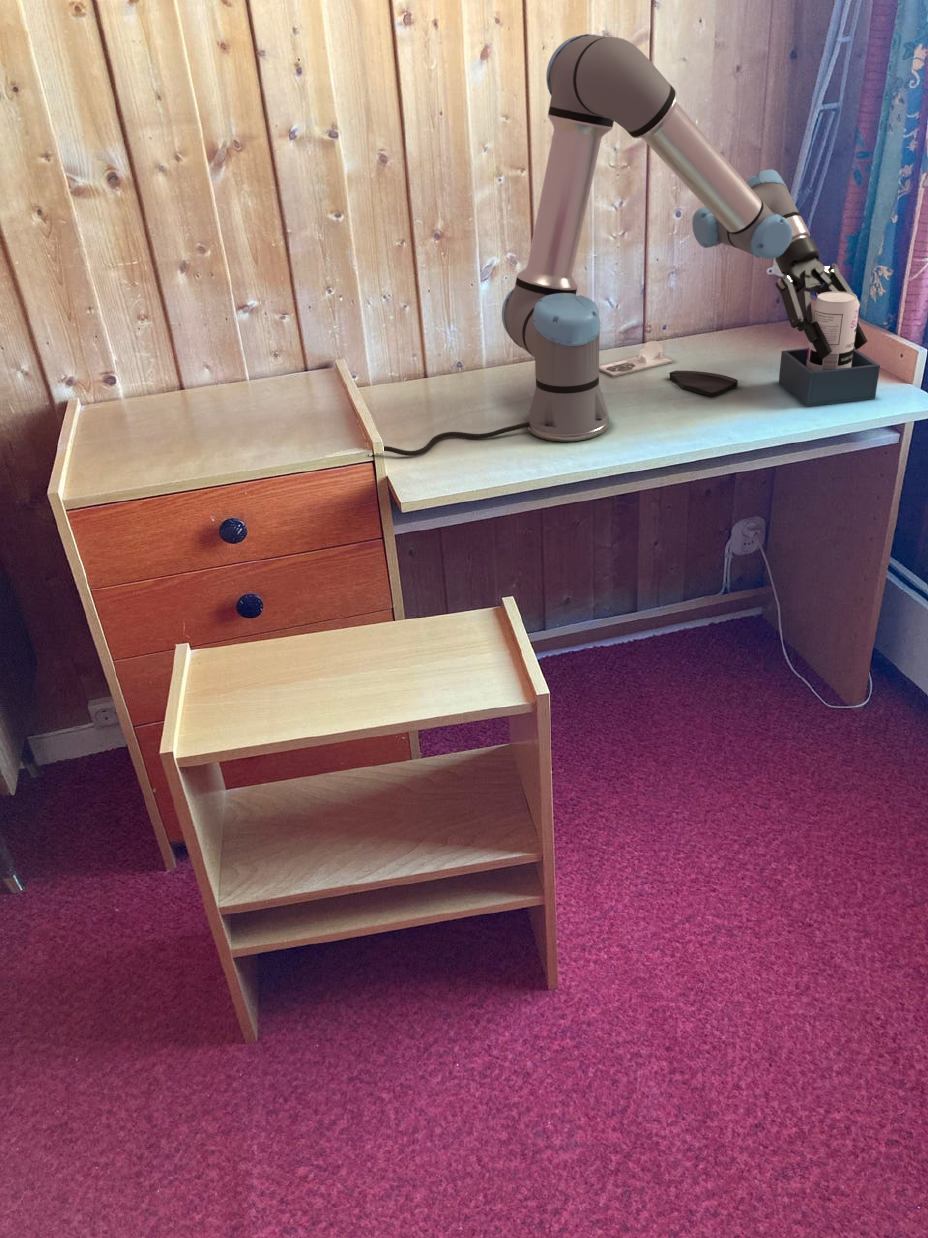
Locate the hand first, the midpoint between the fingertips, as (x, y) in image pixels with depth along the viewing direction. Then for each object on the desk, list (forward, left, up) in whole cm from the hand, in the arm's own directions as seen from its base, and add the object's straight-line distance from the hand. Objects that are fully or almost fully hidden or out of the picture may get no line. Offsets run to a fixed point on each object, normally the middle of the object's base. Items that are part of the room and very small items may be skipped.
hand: (844, 350), depth 196 cm
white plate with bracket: (-32, +29, -9) cm, 44 cm away
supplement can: (-1, +3, -6) cm, 7 cm away
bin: (-1, +3, -9) cm, 9 cm away
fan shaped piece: (-22, +13, -9) cm, 27 cm away
